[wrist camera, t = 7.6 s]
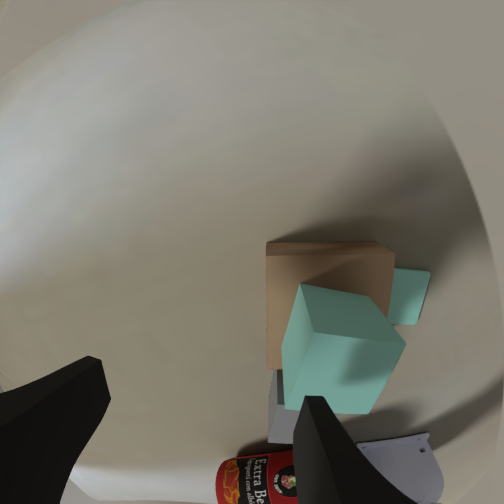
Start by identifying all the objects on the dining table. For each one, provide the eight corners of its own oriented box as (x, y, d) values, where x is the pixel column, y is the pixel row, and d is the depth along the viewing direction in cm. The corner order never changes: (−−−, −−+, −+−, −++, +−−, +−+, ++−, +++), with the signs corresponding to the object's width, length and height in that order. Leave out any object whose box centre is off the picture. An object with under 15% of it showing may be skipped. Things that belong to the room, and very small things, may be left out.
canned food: (213, 450, 20) (336, 429, 19) (243, 465, 24) (340, 447, 23) (214, 523, 14) (352, 509, 12) (246, 522, 18) (352, 507, 17)
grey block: (330, 359, 19) (343, 406, 14) (317, 397, 20) (326, 443, 15) (276, 356, 19) (277, 404, 14) (268, 395, 20) (267, 442, 15)
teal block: (345, 356, 15) (367, 414, 10) (281, 347, 15) (284, 408, 10) (368, 296, 14) (406, 343, 9) (299, 283, 14) (313, 332, 9)
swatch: (428, 271, 17) (430, 272, 16) (413, 322, 18) (415, 324, 17) (381, 265, 17) (383, 267, 16) (367, 320, 18) (369, 323, 17)
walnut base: (373, 240, 17) (395, 253, 13) (363, 334, 19) (378, 361, 15) (266, 241, 17) (265, 256, 14) (267, 339, 19) (267, 369, 16)
